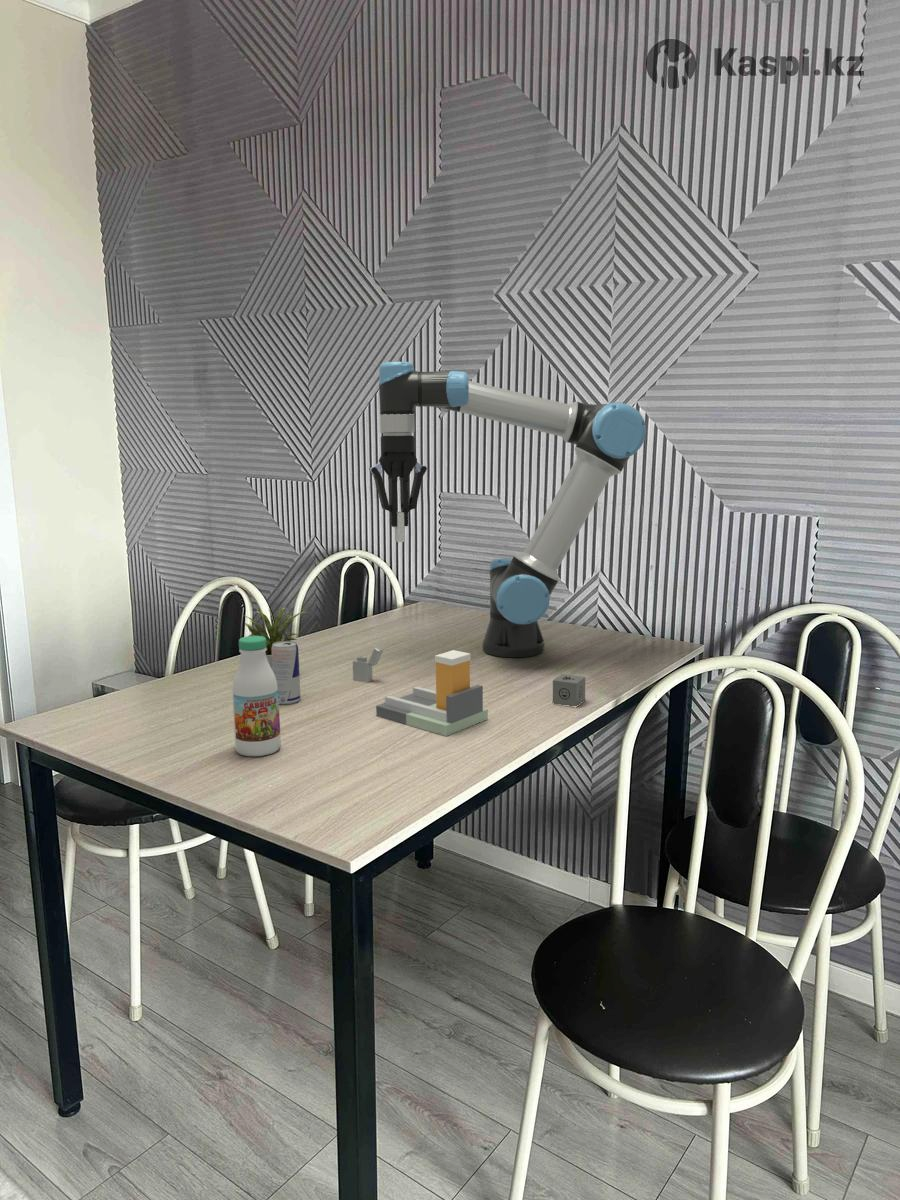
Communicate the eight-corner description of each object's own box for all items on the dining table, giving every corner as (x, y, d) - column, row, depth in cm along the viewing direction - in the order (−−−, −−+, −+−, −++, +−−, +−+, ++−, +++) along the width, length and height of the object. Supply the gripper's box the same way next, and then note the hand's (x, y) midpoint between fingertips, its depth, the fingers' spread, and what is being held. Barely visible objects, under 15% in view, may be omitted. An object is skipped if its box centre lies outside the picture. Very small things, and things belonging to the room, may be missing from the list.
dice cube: (561, 697, 182) (562, 673, 181) (584, 700, 180) (585, 677, 179) (552, 704, 178) (552, 680, 177) (576, 707, 176) (576, 683, 175)
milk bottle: (227, 749, 155) (220, 638, 151) (265, 738, 160) (259, 630, 156) (251, 761, 149) (244, 646, 145) (289, 749, 155) (284, 637, 151)
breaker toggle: (435, 713, 166) (434, 655, 164) (453, 706, 170) (453, 650, 168) (452, 718, 163) (452, 659, 161) (470, 711, 167) (470, 653, 165)
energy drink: (304, 697, 184) (302, 641, 181) (293, 705, 178) (290, 647, 176) (281, 695, 185) (278, 640, 183) (269, 703, 180) (266, 646, 178)
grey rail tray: (376, 715, 172) (375, 680, 171) (418, 700, 181) (418, 667, 179) (446, 736, 160) (445, 699, 159) (487, 719, 169) (487, 684, 168)
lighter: (352, 679, 196) (351, 644, 194) (357, 677, 198) (356, 643, 196) (380, 684, 193) (379, 648, 191) (384, 681, 194) (383, 646, 193)
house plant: (304, 665, 208) (301, 597, 204) (317, 681, 195) (314, 608, 192) (242, 672, 203) (238, 602, 199) (252, 689, 190) (247, 614, 187)
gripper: (420, 434, 201) (422, 537, 205) (364, 434, 197) (367, 540, 201) (430, 434, 194) (432, 541, 198) (372, 435, 190) (375, 544, 194)
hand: (399, 541), depth 200 cm, fingers closed
